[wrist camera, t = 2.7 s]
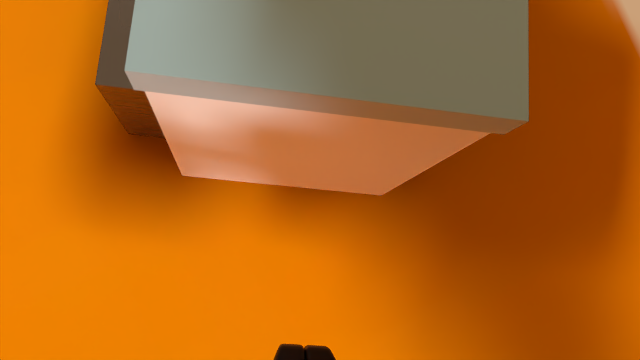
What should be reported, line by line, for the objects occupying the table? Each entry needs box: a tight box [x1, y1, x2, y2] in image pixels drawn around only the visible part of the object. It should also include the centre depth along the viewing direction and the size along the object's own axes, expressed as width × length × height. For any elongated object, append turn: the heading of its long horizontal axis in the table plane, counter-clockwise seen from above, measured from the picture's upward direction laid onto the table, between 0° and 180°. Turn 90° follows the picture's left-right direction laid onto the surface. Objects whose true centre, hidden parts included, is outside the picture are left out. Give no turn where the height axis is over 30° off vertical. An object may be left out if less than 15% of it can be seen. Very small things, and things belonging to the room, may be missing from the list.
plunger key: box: [124, 0, 529, 196], centre depth 13 cm, size 5×6×8 cm
